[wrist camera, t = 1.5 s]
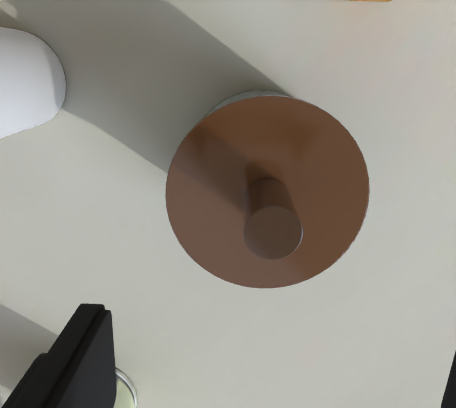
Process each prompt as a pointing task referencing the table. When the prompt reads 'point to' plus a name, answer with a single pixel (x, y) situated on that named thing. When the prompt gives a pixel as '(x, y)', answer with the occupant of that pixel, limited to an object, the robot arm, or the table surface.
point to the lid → (267, 191)
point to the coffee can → (124, 392)
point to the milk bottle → (28, 82)
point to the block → (373, 0)
